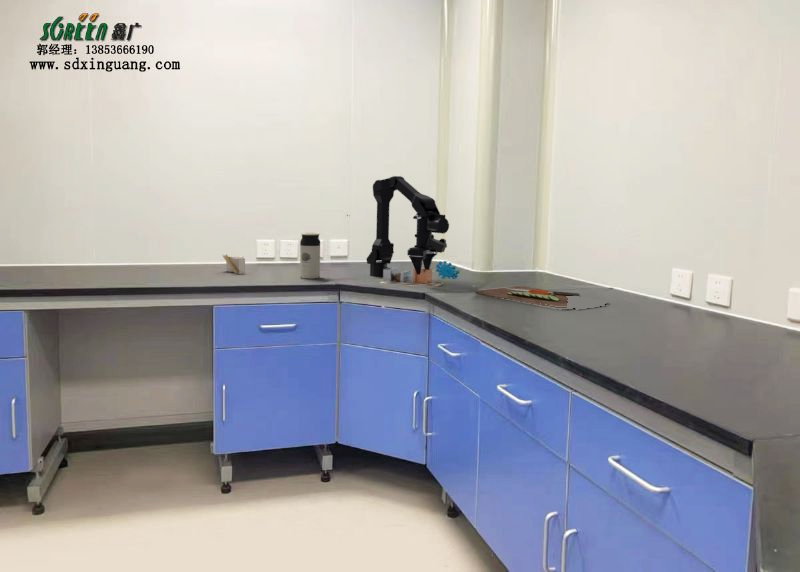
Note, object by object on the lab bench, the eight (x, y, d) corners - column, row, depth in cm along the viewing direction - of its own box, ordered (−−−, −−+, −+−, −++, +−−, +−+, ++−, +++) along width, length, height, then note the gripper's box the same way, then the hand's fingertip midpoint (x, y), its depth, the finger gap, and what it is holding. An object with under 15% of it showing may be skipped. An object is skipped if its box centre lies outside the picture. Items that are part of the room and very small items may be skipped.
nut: (393, 283, 258) (392, 274, 258) (397, 282, 261) (395, 273, 261) (402, 281, 257) (400, 272, 256) (405, 280, 260) (404, 271, 260)
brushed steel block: (383, 282, 257) (383, 269, 257) (391, 279, 265) (391, 267, 264) (390, 282, 256) (390, 269, 255) (398, 280, 264) (398, 267, 263)
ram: (400, 282, 255) (400, 268, 254) (407, 280, 262) (407, 266, 261) (426, 285, 251) (426, 270, 251) (432, 282, 258) (432, 268, 257)
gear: (439, 277, 271) (434, 258, 277) (433, 286, 275) (429, 267, 281) (463, 280, 275) (458, 261, 281) (457, 289, 280) (452, 270, 286)
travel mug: (309, 275, 279) (309, 232, 276) (323, 277, 274) (324, 233, 272) (295, 277, 273) (296, 232, 270) (310, 279, 268) (310, 234, 265)
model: (239, 275, 278) (239, 256, 277) (221, 272, 284) (221, 254, 283) (245, 274, 281) (245, 256, 280) (227, 272, 287) (226, 254, 286)
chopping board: (467, 293, 247) (467, 285, 247) (517, 288, 263) (517, 280, 263) (566, 313, 212) (566, 304, 212) (616, 306, 228) (617, 297, 228)
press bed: (378, 285, 256) (378, 281, 256) (390, 282, 267) (390, 277, 267) (433, 290, 248) (433, 285, 248) (443, 286, 259) (443, 281, 259)
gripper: (436, 234, 241) (435, 277, 243) (452, 231, 258) (450, 271, 261) (407, 232, 245) (406, 275, 247) (424, 230, 262) (423, 269, 265)
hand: (422, 273), depth 255 cm, fingers open, 9 cm apart
